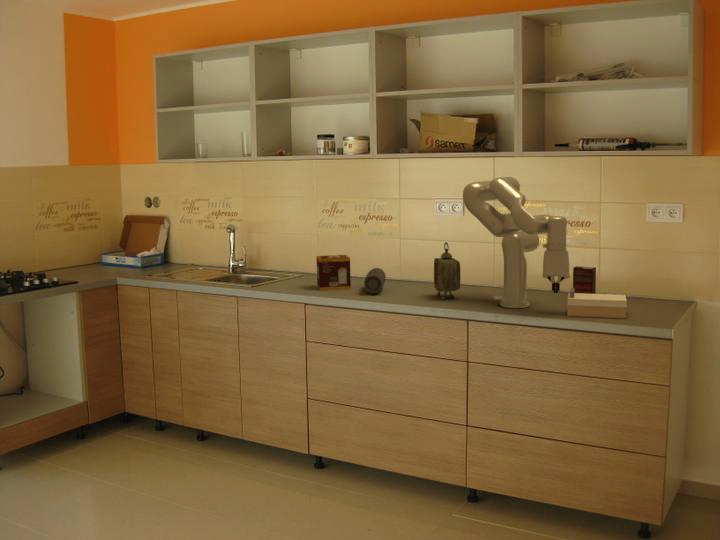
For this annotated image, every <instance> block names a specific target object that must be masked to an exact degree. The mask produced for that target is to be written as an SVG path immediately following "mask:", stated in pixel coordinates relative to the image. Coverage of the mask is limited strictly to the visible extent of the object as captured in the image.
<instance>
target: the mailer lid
mask: <svg viewBox="0 0 720 540" xmlns="http://www.w3.org/2000/svg"><path fill="white" fill-rule="evenodd" d="M569 289H570V290H569V292H568V294H567V306H568V305H576V306H603V307H626V308H627V297H626V294H613V293H612V294H607V293H606V294H605V293H596V294H584V293H574V288H573V287H570V288H569Z"/></svg>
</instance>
